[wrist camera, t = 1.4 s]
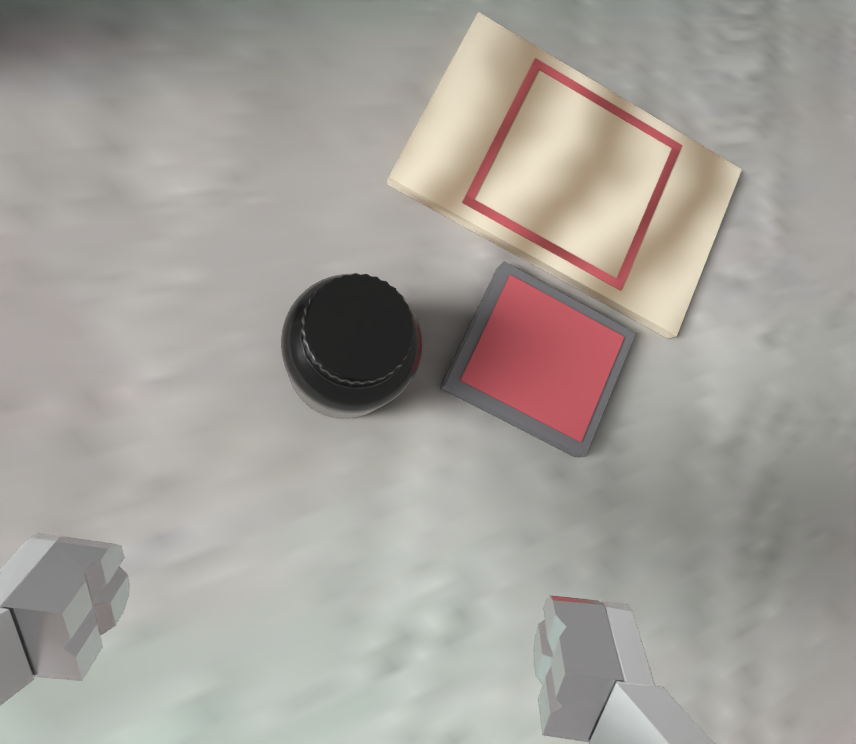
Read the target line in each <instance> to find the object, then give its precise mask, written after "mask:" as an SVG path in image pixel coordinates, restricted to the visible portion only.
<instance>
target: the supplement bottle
mask: <svg viewBox="0 0 856 744" xmlns="http://www.w3.org/2000/svg"><path fill="white" fill-rule="evenodd" d="M281 348H282V356H283V361H284V364H285V367H286V370H287V373H288V376H289V378H290V381H291V383H292V386H293V388H294V389H295V391H296V393H297V394H298V396H299V397H300V398H301V399H302V400H303V401H304V402H305V403H306V404H307V405H308V406H309V407H310V408H312V409H313V410H315V411H317V412H319V413H321V414H323V415H326V416H329V417H333V418H341V419H348V418H355V417H360V416H363V415H366V414H368V413H370V412H373V411H374V410H376V409H378V408H380V407H382V406H384V405H386V404H388V403H389V402H391V401H392V400H394V399H395V398H396V397H397V396H398V395H400V394H401V393H402V392H403V391H404V389H405V388H406V387H407V386H408V385H409V383H410V382H411V380H412V379H413V377H414V375H415V373H416V371H417V368H418V365H419V362H420V358H421V352H422V337H421V331H420V326H419V323H418V320H417V318H416V315H415V313H414V311H413V310H412V308H411V306H410V305H409V303H408V302H407V301H406V300H405V298H404V297H403V296H402V295H401V294H400V293H399V292H398V291H397V290H396V288H394V287H392V286H390V285H389V284H388V283H387V282H386V281H381V280H380V279H379V278H378V277H371V276H369V275H367V274H363V275H360V274H356V273H355V274H342V275H336V276H332V277H329V278H326V279H323V280H321V281H319V282H317V283H315V284H314V285H312V286H310V287H309V288H308V289H306V290H305V291H304V292H303V293H302V294H301V295H300V296H299V297H298V298H297V299H296V301H295V302H294V303H293V305H292V306H291V308H290V310H289V312H288V314H287V316H286V319H285V322H284V325H283V330H282V338H281Z"/></svg>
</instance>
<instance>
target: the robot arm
mask: <svg viewBox="0 0 856 744" xmlns="http://www.w3.org/2000/svg"><path fill="white" fill-rule="evenodd" d="M124 558H125V557H124V554H123V550H122V546H121V545H117V544H112V543H105V542H98V541H91V540H85V539H78V538H71V537H63V536H55V535H48V534H41V533H37V534H36V535H34V536H32V537H30V538H29V539H27V541H26V542H25V543H24V544H23V545H22V546H21V547H20V548H19V550H18V551H17V552H16V553H15V554H14V555H13V556H12V557H11V559H10V560H9V561H8V562H7V563H6V564H5V565H4V566H3V568H2V569H1V570H0V705H2V704H3V703H4V702H6V701H7V700H8V699H9V698H11V697H12V696H13V695H15V694H16V693H17V692H19V691H20V690H21V689H22V688H24V687H25V686H26V685H28V684H29V683H30V682H32V681H33V680H34V677H44V678H55V679H67V680H78V681H83V679H84V677H85V676H86V674H87V672H88V671H89V669H90V667H91V666H92V664H93V662H94V661H95V659H96V657H97V656H98V654H99V653H100V651H101V649H102V648H103V646H102V640H101V635H102V634H104V633H105V632H107V631H108V630H110V629H111V628H113V627H114V626H116V624H117V622H118V621H119V619H120V617H121V615H122V614H123V612H124V609H125V606H126V603H127V600H128V597H129V586H130V583H129V578H128V574H127V573H126V572H125V571H124V570H123V569H122V568H121V567H120V564H121V563H122V561H123V560H124ZM543 610H544V617H545V620H544V621H542V622H541V623H539V624H538V627H537V631H536V635H535V643H534V667H535V676H536V677H537V678H538V680H539V681H540V682H541V684H542V688H541V691H540V694H539V697H538V703H539V711H540V719H541V727H542V735H544V736H551V737H558V738H565V739H571V740H578V741H585V742H589V744H715V742H714V741H713V740H712V739H711V738H710V737H709V736H708V735H707V734H706V733H705V732H704V731H703V729H702V728H701V727H700V726H699V725H698V724H697V723H696V722H695V721H694V720H693V719H692V717H691V716H690V715H689V714H688V713H687V712H686V711H685V710H684V709H683V708H682V707H681V706H680V704H679V703H678V702H677V701H676V700H675V699H674V698H673V697H672V696H671V695H670V694H669V692H668V691H667V690H666V689H665V688H664V687H660V686H655V683H654V680H653V677H652V673H651V670H650V667H649V664H648V660H647V657H646V654H645V651H644V647H643V644H642V641H641V637H640V634H639V631H638V628H637V624H636V621H635V618H634V615H633V611H632V609H631V608H630V607H629V605H627V604H619V603H611V602H600V601H597V600H588V599H578V598H569V597H560V596H550V595H549V597H548V598H547V599H546V602H545V605H544V608H543Z"/></svg>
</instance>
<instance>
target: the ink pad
mask: <svg viewBox="0 0 856 744" xmlns="http://www.w3.org/2000/svg"><path fill="white" fill-rule="evenodd" d="M635 334H636V333H634V332H633V331H631V330H629V329H627V328H625V327H623V326H622V325H620V324H618V323H616V322H614V321H612V320H611V319H609V318H607V317H605V316H603V315H601V314H600V313H598V312H596V311H594V310H592V309H590V308H589V307H587V306H585V305H583V304H581V303H580V302H578V301H576V300H574V299H572V298H570V297H569V296H567V295H565V294H563V293H561V292H559V291H558V290H556V289H554V288H552V287H550V286H548V285H547V284H545V283H543V282H541V281H539V280H537V279H536V278H534V277H532V276H530V275H528V274H526V273H525V272H523V271H521V270H519V269H517V268H515V267H514V266H512V265H510V264H508V263H506V262H505V261H504V262H503V263H502V264H501V265H500V266H499V267H498V268H497V270H496V272H495V274H494V276H493V278H492V280H491V282H490V284H489V286H488V288H487V291H486V293H485V295H484V297H483V299H482V301H481V303H480V305H479V307H478V309H477V311H476V314H475V316H474V318H473V320H472V322H471V324H470V326H469V328H468V330H467V332H466V335H465V337H464V339H463V341H462V343H461V345H460V347H459V349H458V351H457V353H456V356H455V358H454V360H453V362H452V364H451V366H450V368H449V370H448V372H447V374H446V376H445V379H444V381H443V383H442V385H441V387H440V388H441V389H443V390H445V391H447V392H449V393H451V394H453V395H455V396H457V397H458V398H460V399H462V400H464V401H466V402H468V403H470V404H472V405H474V406H476V407H478V408H480V409H482V410H484V411H486V412H488V413H490V414H492V415H494V416H496V417H498V418H500V419H501V420H503V421H505V422H507V423H509V424H511V425H513V426H515V427H517V428H519V429H521V430H523V431H525V432H527V433H529V434H531V435H533V436H535V437H537V438H539V439H541V440H542V441H544V442H546V443H548V444H550V445H552V446H554V447H556V448H558V449H560V450H562V451H564V452H566V453H568V454H570V455H572V456H574V457H585V456H586V454H587V451H588V449H589V446H590V444H591V442H592V439H593V437H594V434H595V432H596V429H597V427H598V424H599V422H600V419H601V417H602V415H603V412H604V410H605V407H606V405H607V402H608V400H609V397H610V395H611V392H612V390H613V388H614V385H615V383H616V380H617V378H618V375H619V373H620V370H621V368H622V366H623V363H624V361H625V358H626V356H627V353H628V351H629V348H630V346H631V343H632V341H633V339H634V336H635Z"/></svg>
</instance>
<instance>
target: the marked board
mask: <svg viewBox="0 0 856 744" xmlns="http://www.w3.org/2000/svg"><path fill="white" fill-rule="evenodd" d="M741 170H742V169H740V168H739V167H737V166H735V165H734V164H732V163H730V162H729V161H727V160H725V159H724V158H722V157H720V156H719V155H717V154H715V153H714V152H712V151H710V150H708V149H707V148H705V147H703V146H702V145H700V144H698V143H697V142H695V141H693V140H692V139H690V138H688V137H687V136H685V135H683V134H682V133H680V132H678V131H677V130H675V129H673V128H672V127H670V126H668V125H667V124H665V123H663V122H662V121H660V120H658V119H657V118H655V117H653V116H652V115H650V114H648V113H647V112H645V111H643V110H642V109H640V108H638V107H637V106H635V105H633V104H631V103H630V102H628V101H626V100H625V99H623V98H621V97H620V96H618V95H616V94H615V93H613V92H611V91H610V90H608V89H606V88H605V87H603V86H601V85H600V84H598V83H596V82H595V81H593V80H591V79H590V78H588V77H586V76H585V75H583V74H581V73H580V72H578V71H576V70H575V69H573V68H571V67H570V66H568V65H566V64H565V63H563V62H561V61H560V60H558V59H556V58H554V57H553V56H551V55H549V54H548V53H546V52H544V51H543V50H541V49H539V48H538V47H536V46H534V45H533V44H531V43H529V42H528V41H526V40H524V39H523V38H521V37H519V36H518V35H516V34H514V33H513V32H511V31H509V30H508V29H506V28H504V27H503V26H501V25H499V24H498V23H496V22H494V21H493V20H491V19H489V18H488V17H486V16H484V15H483V14H481V13H479V12H478V13H477V15H476V17H475V19H474V21H473V22H472V24H471V26H470V28H469V30H468V32H467V34H466V35H465V37H464V39H463V41H462V43H461V45H460V46H459V48H458V50H457V52H456V54H455V56H454V57H453V59H452V61H451V63H450V65H449V67H448V69H447V70H446V72H445V74H444V76H443V78H442V80H441V81H440V83H439V85H438V87H437V89H436V91H435V92H434V94H433V96H432V98H431V100H430V102H429V104H428V105H427V107H426V109H425V111H424V113H423V115H422V116H421V118H420V120H419V122H418V124H417V126H416V127H415V129H414V131H413V133H412V135H411V137H410V139H409V140H408V142H407V144H406V146H405V148H404V150H403V151H402V153H401V155H400V157H399V159H398V161H397V162H396V164H395V166H394V168H393V170H392V172H391V173H390V175H389V177H388V181H387V185H389V186H391V187H393V188H395V189H396V190H398V191H400V192H402V193H404V194H406V195H407V196H409V197H411V198H413V199H415V200H417V201H418V202H420V203H422V204H424V205H426V206H427V207H429V208H431V209H433V210H435V211H437V212H438V213H440V214H442V215H444V216H446V217H447V218H449V219H451V220H453V221H455V222H457V223H458V224H460V225H462V226H464V227H466V228H467V229H469V230H471V231H473V232H475V233H477V234H478V235H480V236H482V237H484V238H486V239H488V240H489V241H491V242H493V243H495V244H497V245H498V246H500V247H502V248H504V249H506V250H508V251H509V252H511V253H513V254H515V255H517V256H518V257H520V258H522V259H524V260H526V261H528V262H529V263H531V264H533V265H535V266H537V267H538V268H540V269H542V270H544V271H546V272H548V273H549V274H551V275H553V276H555V277H557V278H558V279H560V280H562V281H564V282H566V283H568V284H569V285H571V286H573V287H575V288H577V289H579V290H580V291H582V292H584V293H586V294H588V295H589V296H591V297H593V298H595V299H597V300H599V301H600V302H602V303H604V304H606V305H608V306H609V307H611V308H613V309H615V310H617V311H619V312H620V313H622V314H624V315H626V316H628V317H629V318H631V319H633V320H635V321H637V322H639V323H640V324H642V325H644V326H646V327H648V328H650V329H651V330H653V331H655V332H657V333H659V334H660V335H662V336H664V337H666V338H668V339H669V338H672V337H675V336H677V334H678V332H679V329H680V326H681V324H682V321H683V319H684V316H685V314H686V311H687V309H688V306H689V303H690V301H691V298H692V296H693V293H694V291H695V288H696V286H697V283H698V280H699V278H700V275H701V273H702V270H703V268H704V265H705V262H706V260H707V257H708V255H709V252H710V250H711V247H712V245H713V242H714V239H715V237H716V234H717V232H718V229H719V227H720V224H721V222H722V219H723V216H724V214H725V211H726V209H727V206H728V204H729V201H730V199H731V196H732V193H733V191H734V188H735V186H736V183H737V181H738V178H739V175H740V173H741Z"/></svg>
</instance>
